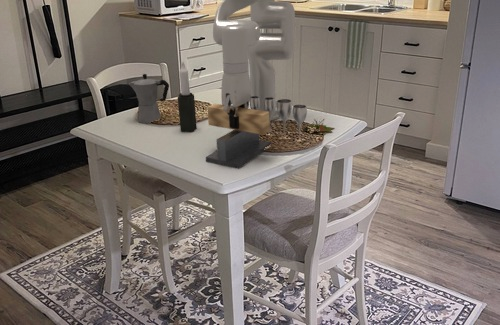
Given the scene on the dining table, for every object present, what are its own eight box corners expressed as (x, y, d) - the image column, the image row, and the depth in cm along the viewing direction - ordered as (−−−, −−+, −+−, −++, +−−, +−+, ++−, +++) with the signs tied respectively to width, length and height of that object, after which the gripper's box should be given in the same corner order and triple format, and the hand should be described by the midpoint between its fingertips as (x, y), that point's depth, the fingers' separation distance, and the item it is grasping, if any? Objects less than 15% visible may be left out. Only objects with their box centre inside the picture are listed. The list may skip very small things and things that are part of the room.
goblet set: (309, 138, 171) (310, 101, 166) (302, 144, 166) (302, 105, 161) (239, 127, 184) (237, 91, 179) (230, 131, 180) (229, 95, 174)
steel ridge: (240, 140, 171) (239, 118, 168) (271, 146, 165) (271, 123, 162) (206, 161, 155) (204, 137, 152) (238, 168, 149) (237, 143, 146)
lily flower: (294, 133, 177) (294, 121, 175) (311, 123, 186) (311, 112, 184) (325, 139, 171) (325, 126, 169) (340, 129, 180) (341, 117, 178)
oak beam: (269, 130, 153) (269, 111, 151) (262, 134, 150) (262, 115, 148) (215, 121, 163) (214, 103, 161) (208, 125, 160) (207, 106, 158)
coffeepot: (129, 124, 191) (123, 77, 184) (136, 116, 200) (130, 71, 193) (169, 123, 190) (165, 76, 183) (174, 115, 199) (170, 70, 192)
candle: (193, 132, 180) (187, 62, 170) (179, 131, 181) (173, 62, 171) (197, 127, 185) (192, 59, 175) (184, 127, 186) (178, 59, 176)
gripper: (240, 60, 158) (242, 116, 165) (209, 72, 145) (213, 132, 152) (261, 63, 154) (262, 119, 161) (231, 74, 141) (234, 136, 148)
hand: (238, 125), depth 156 cm, fingers closed on oak beam, 4 cm apart
